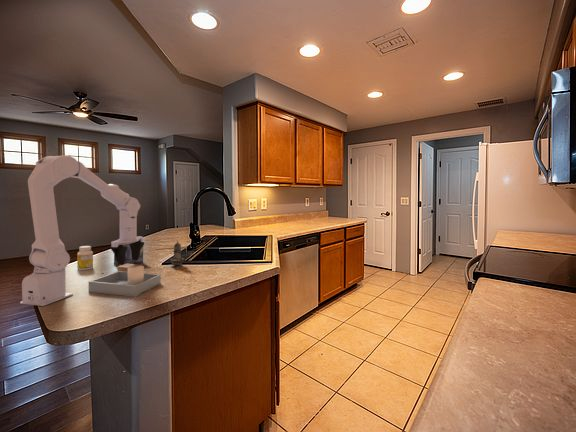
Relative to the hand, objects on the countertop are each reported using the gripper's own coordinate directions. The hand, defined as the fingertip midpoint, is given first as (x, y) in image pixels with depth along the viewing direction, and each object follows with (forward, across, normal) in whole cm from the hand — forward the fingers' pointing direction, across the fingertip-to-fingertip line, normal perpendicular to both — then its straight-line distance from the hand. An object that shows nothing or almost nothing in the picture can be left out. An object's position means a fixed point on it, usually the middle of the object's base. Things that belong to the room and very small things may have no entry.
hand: (128, 262), depth 104 cm
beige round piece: (+6, -10, -11) cm, 16 cm away
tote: (+6, -10, -8) cm, 14 cm away
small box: (+7, +18, +14) cm, 24 cm away
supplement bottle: (+6, +6, +25) cm, 26 cm away
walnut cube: (+6, 0, 0) cm, 6 cm away
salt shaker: (+7, +20, -9) cm, 23 cm away
